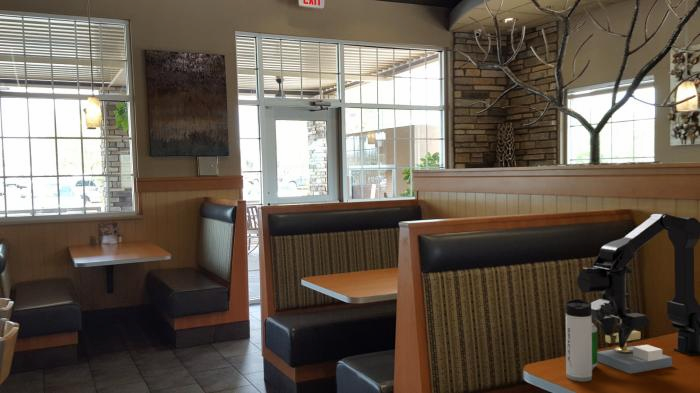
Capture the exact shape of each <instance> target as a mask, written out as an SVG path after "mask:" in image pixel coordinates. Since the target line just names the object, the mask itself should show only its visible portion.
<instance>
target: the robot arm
mask: <svg viewBox="0 0 700 393" xmlns="http://www.w3.org/2000/svg"><path fill="white" fill-rule="evenodd" d="M663 230H665V231H667V235H668V236H667V237H668V239H669V240H670V242H671V244H672V245H673V249H674V251H673V252H674V297H672V299H671V300H670V301H668V300H667V302H666V308H667V311H666V315H667V316H668V321H670V323H671V327H672V328H673V329H676V330H677V338H676V340H677V346H675V347H673V348H672V349H673V350H674V351H676V352H677V351H678V352H681V353H683V354H687V355H689V356H697V355H700V304H699V302H698V300H697V298H696V296H695V247H696V245H697V243H698V242H699V241H700V221H699V220H698V219H697V218H696V217H690V216H687V217H686V216H677V215H676V216H674V215H670V214H668V213H660V212H657V213H656V212H655V213H652V214H650V217H648V218H647V219H646V220H645V221H644V222H642V223H641V224H640V225H638V226H637V227H635V228H634V229H633V230H632V231H630V232H628V234H625V236H624V237H622V238H620V239H616V240H612V241H610V242H608V243H606V244H604V245H603V246H601V248H600V249H599V253H598V255H597V257H596V258H595V260H594V261H593V263H592V264H591V267H582V268H581V272H580V273H579V274H578V277H577V279H576V282H577V287H578V289H579V290H580V291H581V292H582V293H597V292H599V298H598V299H597V300H594V301H592V302H590V303H591V315H592V317H591V318H592V319H593V320H594V321H596V322H597V323H598V324H599V326H600V328H601V330H602V333H603V336H604V337H605V335H607V334H614V327H615V328H617V333H618V336H619V342H618V345H619V346H618V347H624V345H625V343H626V341H627V339H628V338H629V336H630V334H631V332H632V331H634V330H635V329H636V328H644V327H649V326H650V317H649V316H648V315H647V314H643V313H638V312H632V313H630V308H627V299H628V298H630V293H627V282H626V281H627V277H626V275H629V274H633V270H631V269H630V268H629V267H628V265H629V264H630V262H631V261H632V260H633V259H634V257H635V255H636V252H637V251H638V250H639V249H640V248H641V247H643V246H644V245H645V244H647V243H648V242H649V241H651V240H653V238H654V237H656V236H657V235H659V233H662V231H663ZM616 319H617V320H619V323H615V321H616ZM627 342H628V341H627ZM606 343H607V344H609V343H608V342H606Z"/></svg>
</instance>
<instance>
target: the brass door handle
mask: <svg viewBox="0 0 700 393" xmlns="http://www.w3.org/2000/svg"><path fill="white" fill-rule="evenodd" d="M641 335H642V334H641V331H638V330H635V329H634V330H633V331H632V332H631V334H630V336H629V338H628V339H627V341H626V343H625V345H624V347H619V346H617V347H615V350H616V351H617V352H621V353H630V352H631V349H629V348H627V347H628V344H627V342H628V341H635V340H641ZM604 340H605V343H607V342H608V343H607V344H615V343H619V336H618V332H616V333H615V332H613V334H607V335H605V336H604Z"/></svg>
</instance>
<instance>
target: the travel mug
mask: <svg viewBox="0 0 700 393" xmlns="http://www.w3.org/2000/svg"><path fill="white" fill-rule="evenodd" d="M591 303H592V302H589V301H587V300H583V299H581V298H574V299H571V300H567V301H566V302H565V365H566V366H565V370H566V371H565V372H566V373H565V375H566V378H567V379H569V381H570V380H571V381H574V382H581V383H583V382H584V383H585V382H586V383H587V382H590V381H592V379H593V369H592V323H593V322H592V319H593V318H591V317H592V315H591Z"/></svg>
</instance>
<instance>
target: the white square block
mask: <svg viewBox="0 0 700 393" xmlns="http://www.w3.org/2000/svg"><path fill="white" fill-rule="evenodd" d="M634 346H635V347H633V356H635V357H638V358H640V359H643V360H646V361H653V360H659V359H662V354H663V348H659V347H656V346H652V345H650V344H641V345H634Z"/></svg>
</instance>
